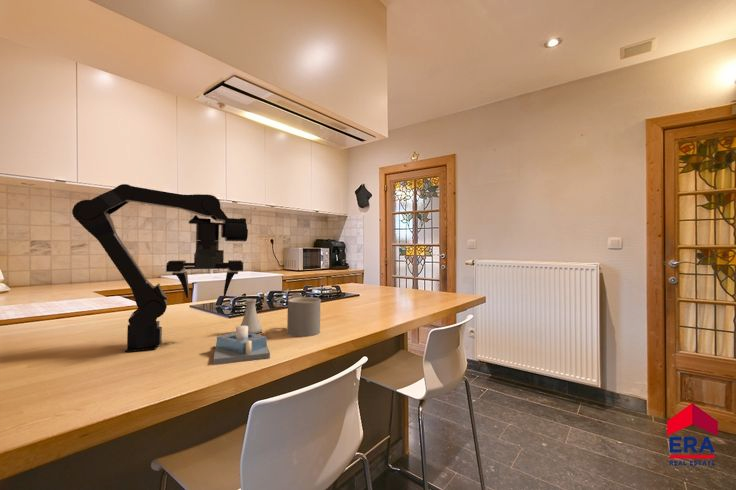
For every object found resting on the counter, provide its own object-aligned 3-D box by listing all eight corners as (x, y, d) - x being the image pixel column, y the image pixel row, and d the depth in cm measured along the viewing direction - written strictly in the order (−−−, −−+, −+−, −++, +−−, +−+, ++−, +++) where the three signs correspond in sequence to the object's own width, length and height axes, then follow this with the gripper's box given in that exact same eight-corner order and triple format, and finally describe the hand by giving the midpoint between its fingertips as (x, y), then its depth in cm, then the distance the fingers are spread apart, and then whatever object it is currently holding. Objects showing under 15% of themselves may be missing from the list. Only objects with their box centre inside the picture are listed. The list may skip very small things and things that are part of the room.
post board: (213, 364, 71) (214, 336, 71) (216, 346, 84) (216, 322, 84) (269, 358, 76) (270, 331, 76) (264, 341, 89) (264, 319, 89)
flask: (257, 335, 95) (258, 301, 95) (233, 335, 95) (234, 301, 95) (266, 329, 102) (266, 298, 102) (243, 329, 103) (244, 297, 103)
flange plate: (266, 347, 80) (266, 336, 81) (242, 354, 75) (242, 343, 75) (240, 340, 86) (241, 330, 86) (216, 347, 80) (216, 336, 80)
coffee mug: (325, 334, 98) (325, 301, 98) (293, 338, 93) (294, 303, 93) (309, 324, 109) (309, 295, 109) (279, 328, 104) (280, 297, 104)
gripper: (162, 239, 79) (161, 303, 79) (244, 241, 86) (243, 299, 86) (170, 240, 89) (169, 296, 89) (243, 241, 96) (242, 294, 96)
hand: (206, 296), depth 90 cm, fingers open, 9 cm apart
